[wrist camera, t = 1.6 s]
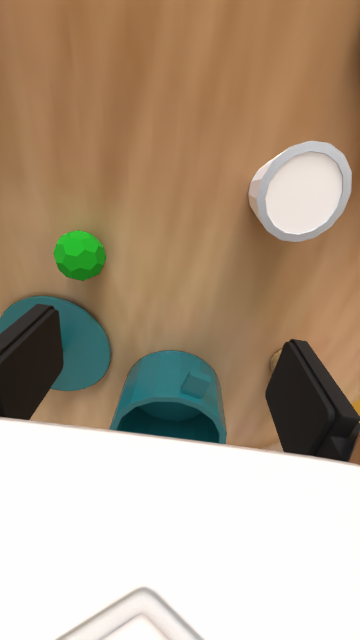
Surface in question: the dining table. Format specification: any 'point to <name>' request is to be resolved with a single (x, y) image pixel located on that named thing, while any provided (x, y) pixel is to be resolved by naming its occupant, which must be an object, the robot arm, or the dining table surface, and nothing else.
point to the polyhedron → (79, 255)
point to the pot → (172, 399)
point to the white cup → (301, 191)
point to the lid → (71, 341)
